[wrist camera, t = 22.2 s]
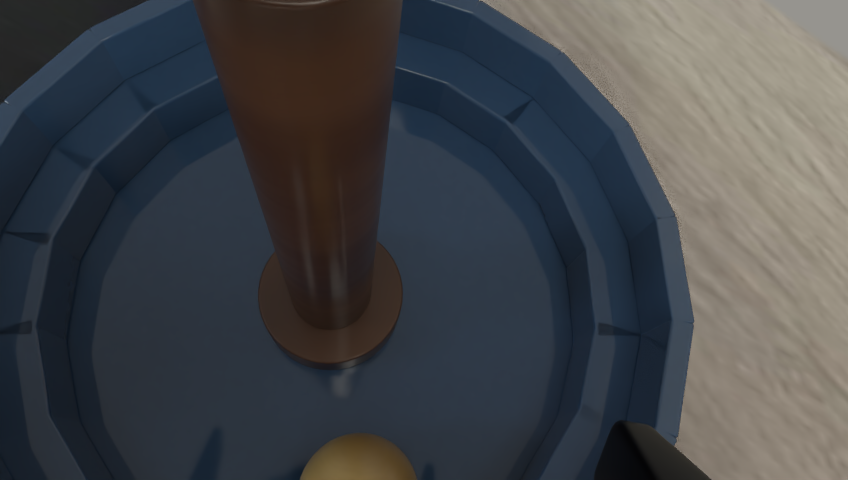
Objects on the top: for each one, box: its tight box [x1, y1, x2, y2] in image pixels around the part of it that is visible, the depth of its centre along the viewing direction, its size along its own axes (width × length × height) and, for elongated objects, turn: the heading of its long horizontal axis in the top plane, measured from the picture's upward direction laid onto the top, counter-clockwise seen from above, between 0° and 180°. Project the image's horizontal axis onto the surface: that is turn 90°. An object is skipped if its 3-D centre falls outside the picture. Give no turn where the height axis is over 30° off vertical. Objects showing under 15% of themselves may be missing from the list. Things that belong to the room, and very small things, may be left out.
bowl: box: [0, 0, 694, 480], centre depth 18 cm, size 18×18×4 cm
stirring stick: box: [193, 0, 403, 370], centre depth 12 cm, size 4×4×14 cm
